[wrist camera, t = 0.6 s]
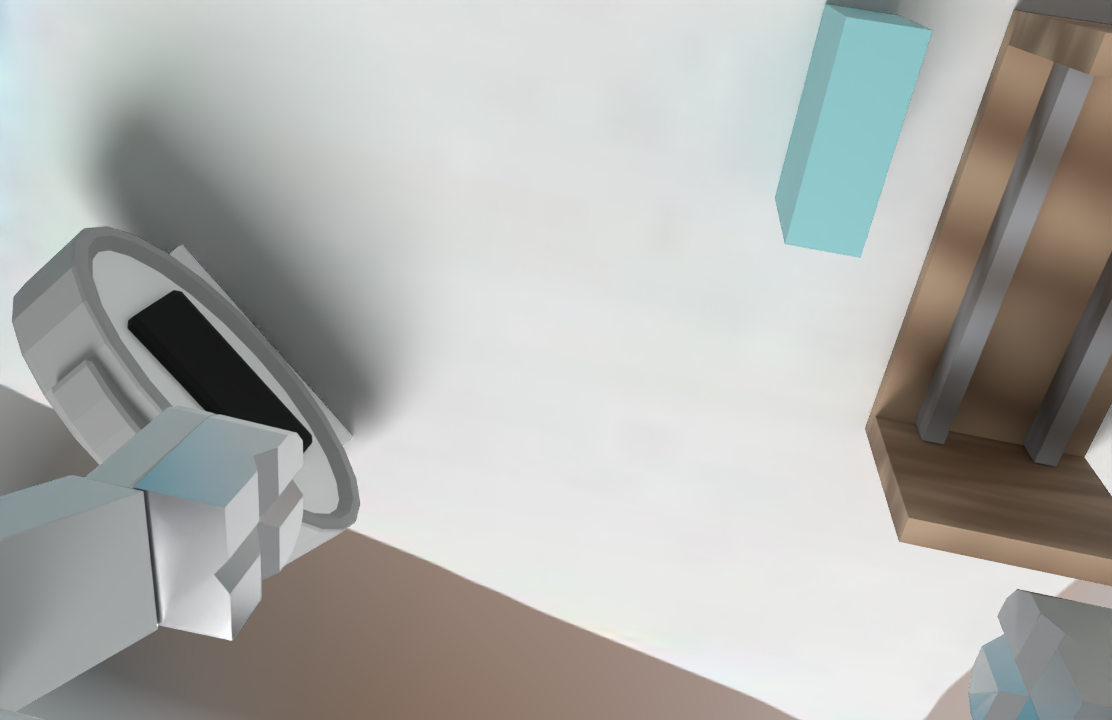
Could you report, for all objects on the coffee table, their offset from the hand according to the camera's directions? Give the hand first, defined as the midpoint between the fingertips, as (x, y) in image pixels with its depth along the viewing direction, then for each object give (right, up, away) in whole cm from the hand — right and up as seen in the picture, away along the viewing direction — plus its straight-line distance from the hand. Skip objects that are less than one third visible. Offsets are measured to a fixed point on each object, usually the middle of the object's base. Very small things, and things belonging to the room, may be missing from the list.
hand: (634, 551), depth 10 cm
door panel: (+14, +15, +35) cm, 40 cm away
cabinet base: (+25, +7, +36) cm, 45 cm away
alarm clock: (-22, +2, +48) cm, 53 cm away
